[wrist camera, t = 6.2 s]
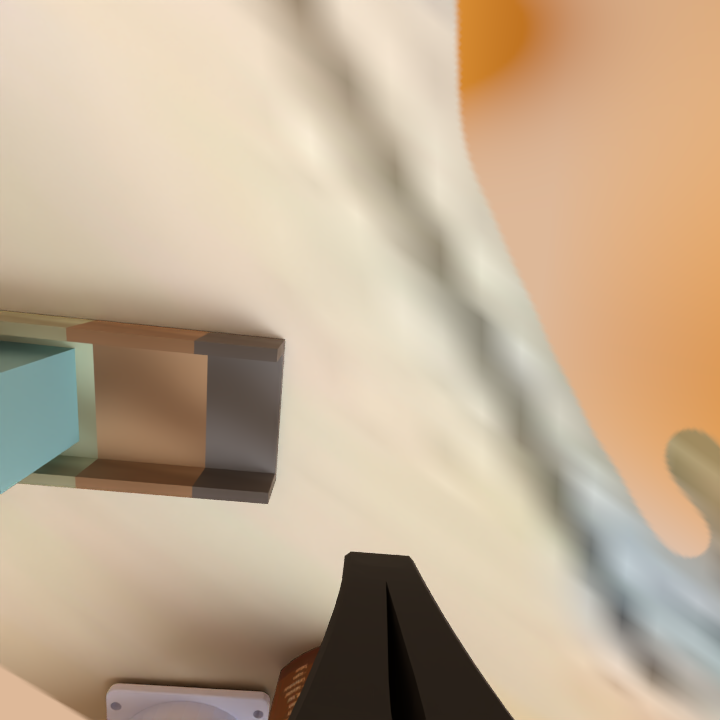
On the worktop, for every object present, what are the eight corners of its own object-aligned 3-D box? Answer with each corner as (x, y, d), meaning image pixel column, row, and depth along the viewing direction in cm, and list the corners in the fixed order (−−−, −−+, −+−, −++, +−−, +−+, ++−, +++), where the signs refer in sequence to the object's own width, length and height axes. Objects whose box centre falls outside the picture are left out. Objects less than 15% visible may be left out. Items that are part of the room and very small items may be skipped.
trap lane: (275, 480, 18) (267, 503, 16) (-91, 449, 17) (-139, 470, 16) (285, 339, 17) (277, 349, 15) (-116, 298, 16) (-173, 303, 14)
